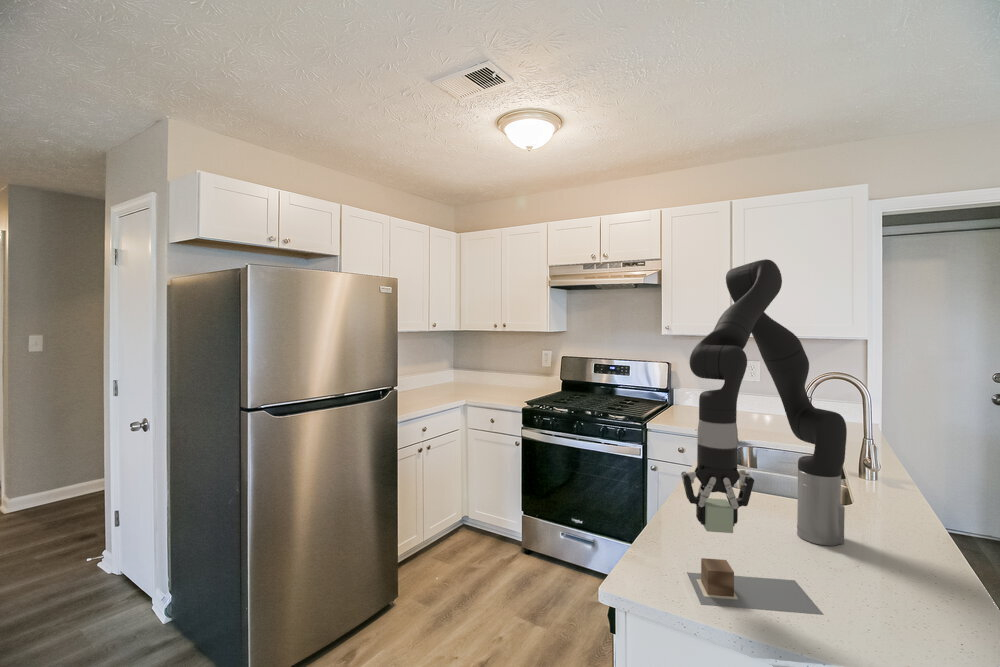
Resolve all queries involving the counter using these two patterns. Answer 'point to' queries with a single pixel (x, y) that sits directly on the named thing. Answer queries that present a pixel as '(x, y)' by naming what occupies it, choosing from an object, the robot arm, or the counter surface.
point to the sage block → (718, 516)
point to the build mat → (759, 595)
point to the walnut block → (717, 577)
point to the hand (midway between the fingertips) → (716, 523)
